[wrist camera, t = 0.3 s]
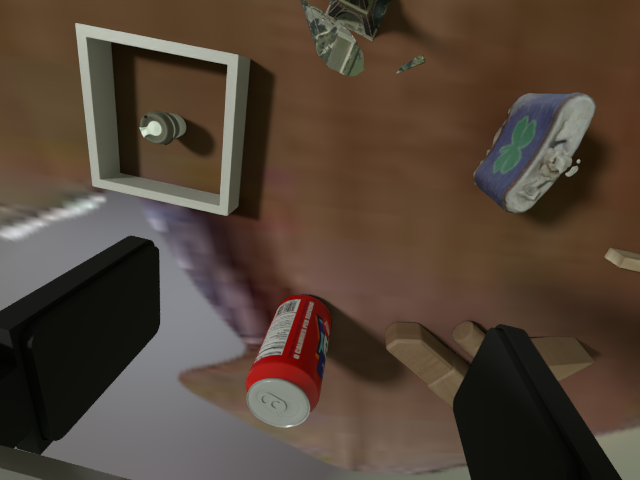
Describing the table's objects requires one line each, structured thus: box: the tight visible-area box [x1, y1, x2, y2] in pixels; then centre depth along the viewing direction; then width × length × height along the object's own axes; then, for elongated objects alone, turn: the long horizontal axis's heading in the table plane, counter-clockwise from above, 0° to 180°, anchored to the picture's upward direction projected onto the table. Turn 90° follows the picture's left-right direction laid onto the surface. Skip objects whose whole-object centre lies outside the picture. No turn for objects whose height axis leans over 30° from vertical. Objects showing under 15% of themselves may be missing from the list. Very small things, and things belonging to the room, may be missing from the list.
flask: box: [474, 92, 596, 213], centre depth 30 cm, size 10×3×12 cm, turn 160°
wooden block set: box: [385, 321, 595, 408], centre depth 42 cm, size 17×6×18 cm
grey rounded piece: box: [140, 111, 186, 145], centre depth 37 cm, size 12×12×5 cm
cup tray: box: [75, 23, 250, 216], centre depth 37 cm, size 16×16×4 cm
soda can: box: [246, 295, 332, 427], centre depth 40 cm, size 8×8×15 cm
